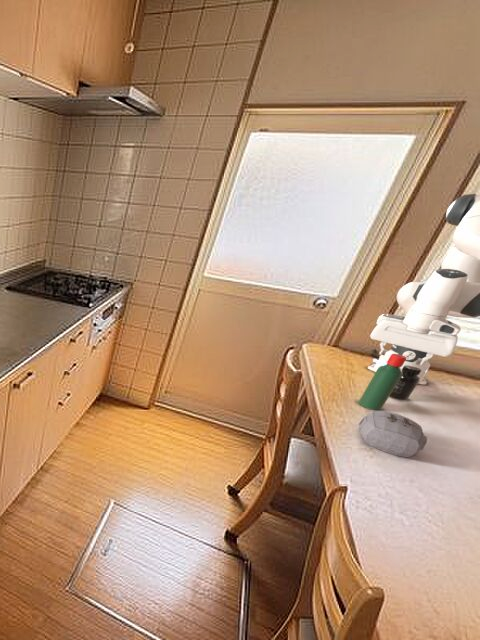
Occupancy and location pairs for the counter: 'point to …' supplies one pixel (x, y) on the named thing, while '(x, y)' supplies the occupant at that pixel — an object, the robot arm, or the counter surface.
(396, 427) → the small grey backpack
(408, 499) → the counter surface
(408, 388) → the supplement bottle
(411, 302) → the robot arm
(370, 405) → the bottle
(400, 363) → the cap
